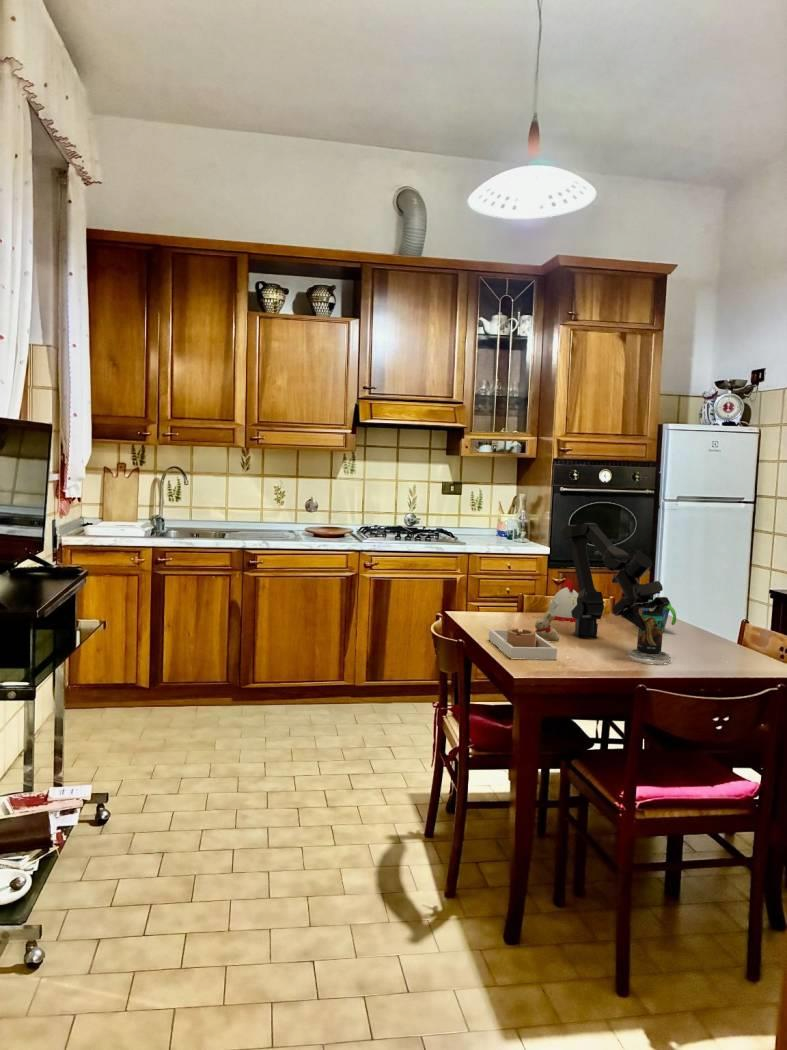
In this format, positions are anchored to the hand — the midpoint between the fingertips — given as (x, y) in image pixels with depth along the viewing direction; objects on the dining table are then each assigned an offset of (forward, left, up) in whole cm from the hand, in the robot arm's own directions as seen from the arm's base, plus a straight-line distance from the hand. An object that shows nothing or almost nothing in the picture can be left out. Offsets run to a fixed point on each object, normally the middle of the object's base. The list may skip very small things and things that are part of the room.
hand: (654, 629), depth 231 cm
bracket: (-37, +11, -10) cm, 40 cm away
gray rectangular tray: (-37, +11, -9) cm, 40 cm away
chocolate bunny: (-24, +24, -10) cm, 36 cm away
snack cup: (+23, +43, -10) cm, 50 cm away
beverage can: (0, +1, -7) cm, 7 cm away
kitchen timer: (-3, +62, -10) cm, 62 cm away
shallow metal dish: (0, +1, -9) cm, 10 cm away
